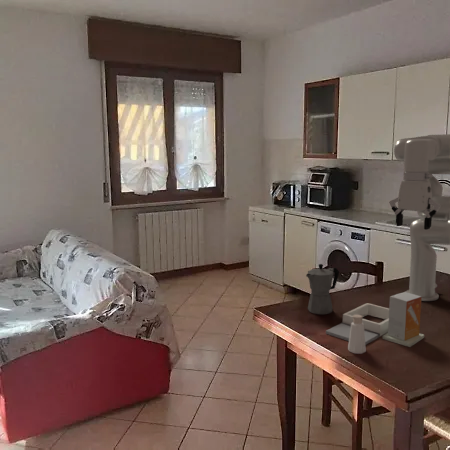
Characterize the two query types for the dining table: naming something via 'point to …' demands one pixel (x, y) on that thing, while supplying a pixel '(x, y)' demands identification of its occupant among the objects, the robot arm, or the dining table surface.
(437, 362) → the dining table surface
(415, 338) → the rubber mat
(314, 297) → the coffeepot
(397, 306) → the small box
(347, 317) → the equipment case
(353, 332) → the pepper shaker
